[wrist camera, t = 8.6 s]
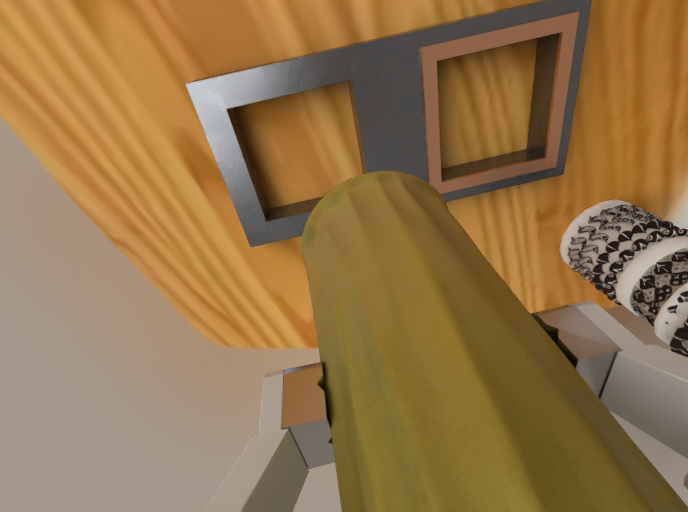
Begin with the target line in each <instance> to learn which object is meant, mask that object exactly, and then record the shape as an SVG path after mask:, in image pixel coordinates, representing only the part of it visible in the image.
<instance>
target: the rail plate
mask: <svg viewBox="0 0 688 512" xmlns="http://www.w3.org/2000/svg"><path fill="white" fill-rule="evenodd" d="M591 2H592V0H543V1H538V2H534V3H530V4H525V5H521V6H517V7H512V8H508V9H504V10H499V11H495V12H491V13H486V14H482V15H477V16H473V17H469V18H464V19H460V20H456V21H451V22H447V23H443V24H438V25H434V26H430V27H425V28H421V29H417V30H412V31H408V32H404V33H399V34H395V35H391V36H386V37H382V38H377V39H373V40H369V41H364V42H360V43H356V44H351V45H347V46H343V47H338V48H334V49H330V50H325V51H321V52H317V53H312V54H308V55H304V56H299V57H295V58H291V59H286V60H282V61H277V62H273V63H269V64H264V65H260V66H256V67H251V68H247V69H243V70H238V71H234V72H230V73H225V74H221V75H217V76H212V77H208V78H204V79H199V80H195V81H192V82H190V83H187V84H186V86H187V89H188V91H189V94H190V96H191V99H192V101H193V104H194V106H195V109H196V111H197V114H198V116H199V119H200V121H201V124H202V126H203V129H204V131H205V134H206V136H207V139H208V141H209V144H210V146H211V149H212V151H213V154H214V156H215V159H216V161H217V164H218V166H219V169H220V171H221V174H222V176H223V179H224V181H225V184H226V186H227V189H228V191H229V194H230V196H231V199H232V201H233V204H234V206H235V209H236V211H237V214H238V216H239V219H240V221H241V224H242V226H243V229H244V231H245V234H246V236H247V239H248V241H249V244H250V246H251V247H254V246H259V245H263V244H267V243H271V242H276V241H280V240H284V239H289V238H293V237H297V236H301V235H303V231H304V228H305V225H306V222H307V220H308V218H309V216H310V214H311V212H312V211H313V209H314V208H315V206H316V205H317V204H318V203H319V202H320V200H321V199H322V198H323V197H320V198H316V199H312V200H307V201H303V202H299V203H294V204H290V205H286V206H282V207H277V208H273V209H269V210H268V209H267V206H266V203H265V200H264V197H263V194H262V191H261V188H260V185H259V182H258V179H257V177H256V174H255V171H254V168H253V165H252V162H251V159H250V156H249V153H248V150H247V147H246V145H245V142H244V139H243V136H242V133H241V130H240V127H239V124H238V121H237V118H236V115H235V113H234V110H233V107H237V106H241V105H245V104H250V103H254V102H258V101H263V100H267V99H271V98H276V97H280V96H284V95H289V94H293V93H297V92H302V91H306V90H310V89H315V88H319V87H323V86H328V85H332V84H336V83H341V82H345V81H348V86H349V92H350V98H351V104H352V110H353V116H354V122H355V128H356V134H357V140H358V146H359V152H360V158H361V164H362V170H363V174H365V173H370V172H376V171H398V172H403V173H407V174H411V175H413V176H416V177H418V178H420V179H422V180H424V181H426V182H427V183H429V184H431V185H432V186H433V187H434V188H435V189H436V190H437V191H438V192H439V193H440V194H441V196H442V197H443V199H444V201H445V202H447V201H451V200H455V199H460V198H464V197H468V196H473V195H477V194H481V193H485V192H490V191H494V190H498V189H503V188H507V187H511V186H515V185H520V184H524V183H528V182H532V181H537V180H541V179H545V178H550V177H554V176H558V175H562V174H564V168H565V162H566V156H567V149H568V143H569V137H570V131H571V125H572V119H573V113H574V106H575V100H576V94H577V88H578V82H579V76H580V69H581V63H582V57H583V51H584V45H585V39H586V32H587V26H588V20H589V14H590V8H591ZM534 38H538V43H537V53H536V63H535V73H534V83H533V94H532V104H531V114H530V124H529V134H528V144H527V149H526V150H522V151H518V152H513V153H509V154H505V155H500V156H496V157H492V158H488V159H483V160H479V161H475V162H470V163H466V164H462V165H458V166H453V167H449V168H445V169H441V154H440V129H439V103H438V77H437V61H439V60H443V59H447V58H452V57H456V56H460V55H465V54H469V53H473V52H478V51H482V50H486V49H491V48H495V47H499V46H504V45H508V44H512V43H517V42H521V41H525V40H530V39H534Z"/></svg>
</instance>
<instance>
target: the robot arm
mask: <svg viewBox="0 0 688 512" xmlns="http://www.w3.org/2000/svg"><path fill="white" fill-rule="evenodd" d="M531 315H532V316H533V318H534V319H535V320H536V321H537V322H538V323H539V325H540V326H541V327H542V328H543V329H544V330H545V332H546V333H547V334H548V335H549V336H550V338H551V339H552V340H553V341H554V342H555V344H556V345H557V346H558V347H559V349H560V350H561V351H562V352H563V354H564V355H565V356H566V357H567V359H568V360H569V361H570V362H571V364H572V365H573V366H574V367H575V369H576V370H577V371H578V373H579V374H580V375H581V376H582V378H583V379H584V380H585V381H586V383H587V384H588V385H589V386H590V388H591V389H592V390H593V391H594V393H595V394H596V395H597V396H598V398H599V399H600V400H601V402H602V403H603V404H604V405H605V407H606V408H607V409H609V410H610V411H612V412H613V413H615V414H617V415H618V416H620V417H621V418H623V419H625V420H626V421H628V422H629V423H631V424H633V425H634V426H636V427H638V428H639V429H641V430H642V431H644V432H646V433H647V434H649V435H650V436H652V437H654V438H656V439H657V440H659V441H660V442H662V443H663V444H665V445H667V446H668V447H670V448H671V449H673V450H674V451H676V452H678V453H679V454H681V455H683V456H684V457H686V458H687V459H688V357H685V356H682V355H680V354H677V353H674V352H672V351H669V350H666V349H664V348H661V347H658V346H656V345H653V344H650V345H645V344H643V343H642V342H641V341H640V340H639V339H638V338H636V337H635V336H634V335H633V334H632V333H631V332H629V331H628V330H627V329H626V328H625V327H623V326H622V325H621V324H620V323H619V322H618V321H616V320H615V319H614V318H613V317H612V316H611V315H609V314H608V313H607V312H606V311H605V310H604V309H602V308H601V307H600V306H599V305H598V304H596V303H595V302H593V301H590V300H587V301H582V302H578V303H574V304H570V305H564V306H560V307H556V308H552V309H547V310H543V311H539V312H535V313H531ZM324 387H325V376H324V367H323V362H319V363H314V364H309V365H305V366H299V367H295V368H290V369H285V370H281V371H276V372H271V373H267V374H265V377H264V380H263V390H262V402H261V414H260V426H259V435H256V436H253V437H252V438H251V440H250V441H249V443H248V444H247V446H246V448H245V449H244V450H243V452H242V454H241V455H240V457H239V458H238V460H237V461H236V463H235V464H234V466H233V467H232V469H231V470H230V472H229V474H228V475H227V476H226V478H225V479H224V481H223V483H222V484H221V486H220V487H219V489H218V490H217V492H216V493H215V495H214V496H213V498H212V499H211V501H210V502H209V504H208V506H207V507H206V508H205V510H204V511H203V512H293V509H294V507H295V504H296V502H297V499H298V497H299V494H300V492H301V490H302V487H303V485H304V482H305V480H306V477H307V475H308V473H309V471H308V469H311V468H314V467H318V466H322V465H326V464H330V463H333V462H335V457H334V450H333V443H332V436H331V426H330V418H329V409H328V401H327V398H326V395H325V390H324ZM684 486H685V487H686V488H687V489H688V473H687V475H686V476H685V478H684Z"/></svg>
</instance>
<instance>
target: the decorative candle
mask: <svg viewBox="0 0 688 512" xmlns="http://www.w3.org/2000/svg"><path fill="white" fill-rule="evenodd" d="M559 250H560V254H561V258H562V260H563V261H564V262H566V263H567V264H568V265H569V266H570V267H572V268H573V271H575V272H577V271H579V273H580V274H581V276H583V279H584V280H589V279H592V280H591V284H592V285H596V289H597V290H599V291H603V293H604V294H606V295H607V297H608V298H609V299H610V300H611V301H615V303H616V304H618V305H624V306H625V307H626V308H627V309H629V310H630V311H631V312H632V313H634V314H635V315H636V316H641V317H642V318H644V319H645V320H646V321H647V322H648V323H650V324H651V325H652V326H653V327H654V330H655V335H657V336H658V337H659V338H660V339H661V340H662V341H664V342H665V343H666V344H669V345H670V347H671V351H672V352H674V353H677V354H680V355H682V356H685V357H688V230H687V229H679V228H678V227H676V226H673V223H671V222H669V221H664V222H663V220H662V219H661V218H659V217H657V215H655V214H654V213H651V212H646V211H644V210H643V209H642V208H641V207H639V206H635V205H631V204H630V203H629V202H625V201H621V200H617V199H613V200H608V201H602V202H599V203H597V204H595V205H593V206H591V207H589V208H587V209H586V210H584V211H583V212H582V213H581V214H580V215H578V216H577V217H576V218H575V219H574V220H573V221H572V222H571V223H570V225H569V226H568V228H567V229H566V231H565V232H564V234H563V235H562V239H561V243H560V247H559Z"/></svg>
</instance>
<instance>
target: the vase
mask: <svg viewBox="0 0 688 512" xmlns="http://www.w3.org/2000/svg"><path fill="white" fill-rule="evenodd" d="M301 251H302V256H303V260H304V263H305V265H306V269H307V276H308V282H309V289H310V295H311V302H312V308H313V314H314V320H315V325H316V331H317V339H318V346H319V354H320V361H321V362H323V367H324V376H325V387H324V390H325V395H326V398H327V401H328V409H329V418H330V426H331V436H332V443H333V450H334V457H335V464H336V472H337V480H338V487H339V494H340V501H341V508H342V512H688V507H687V505H686V504H685V503H684V502H683V500H681V498H680V497H679V496H678V495H677V493H676V492H675V491H674V490H673V488H672V487H671V486H670V485H669V483H668V482H667V481H666V480H665V479H664V478H663V476H662V475H661V474H660V473H659V472H658V470H657V469H656V468H655V467H654V466H653V465H652V463H651V462H650V461H649V460H648V458H647V457H646V456H645V455H644V454H643V452H642V451H641V450H640V449H639V448H638V447H637V445H636V444H635V443H634V442H633V441H632V439H631V438H630V437H629V436H628V434H627V433H626V432H625V431H624V429H623V428H622V427H621V426H620V424H619V423H618V422H617V420H616V419H615V418H614V417H613V415H612V414H611V413H610V412H609V410H608V409H607V408H606V407H605V405H604V404H603V403H602V402H601V400H600V399H599V398H598V396H597V395H596V394H595V393H594V391H593V390H592V389H591V388H590V386H589V385H588V384H587V383H586V381H585V380H584V379H583V378H582V376H581V375H580V374H579V373H578V371H577V370H576V369H575V367H574V366H573V365H572V364H571V362H570V361H569V360H568V359H567V357H566V356H565V355H564V354H563V352H562V351H561V350H560V349H559V347H558V346H557V345H556V344H555V342H554V341H553V340H552V339H551V338H550V336H549V335H548V334H547V333H546V332H545V330H544V329H543V328H542V327H541V326H540V325H539V323H538V322H537V321H536V320H535V319H534V318H533V316H532V315H531V314H530V313H529V312H528V310H527V309H526V308H525V307H524V306H523V304H522V303H521V302H520V301H519V299H518V298H517V297H516V295H515V294H514V293H513V292H512V290H511V289H510V288H509V287H508V285H507V284H506V283H505V282H504V280H503V279H502V278H501V277H500V276H499V274H498V273H497V272H496V271H495V269H494V268H493V267H492V266H491V265H490V263H489V262H488V261H487V260H486V258H485V257H484V256H483V254H482V253H481V252H480V250H479V249H478V248H477V246H476V245H475V244H474V242H473V241H472V239H471V238H470V237H469V235H468V234H467V233H466V231H465V230H464V229H463V227H462V226H461V225H460V224H459V222H458V221H457V220H456V219H455V218H454V217H453V215H452V214H451V213H450V212H449V210H448V207H447V205H446V203H445V201H444V199H443V197H442V196H441V194H440V193H439V192H438V191H437V190H436V189H435V188H434V187H433V186H432V185H431V184H429V183H427V182H426V181H424V180H422V179H420V178H418V177H416V176H413V175H411V174H407V173H403V172H398V171H376V172H370V173H365V174H362V175H358V176H356V177H353V178H351V179H349V180H347V181H345V182H343V183H341V184H340V185H338V186H336V187H335V188H334V189H332V190H331V191H330V192H329V193H328V194H327V195H325V196H324V197H323V198H322V199H321V200H320V202H319V203H318V204H317V205H316V206H315V208H314V209H313V211H312V212H311V214H310V216H309V218H308V220H307V222H306V225H305V228H304V231H303V236H302V243H301Z"/></svg>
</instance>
